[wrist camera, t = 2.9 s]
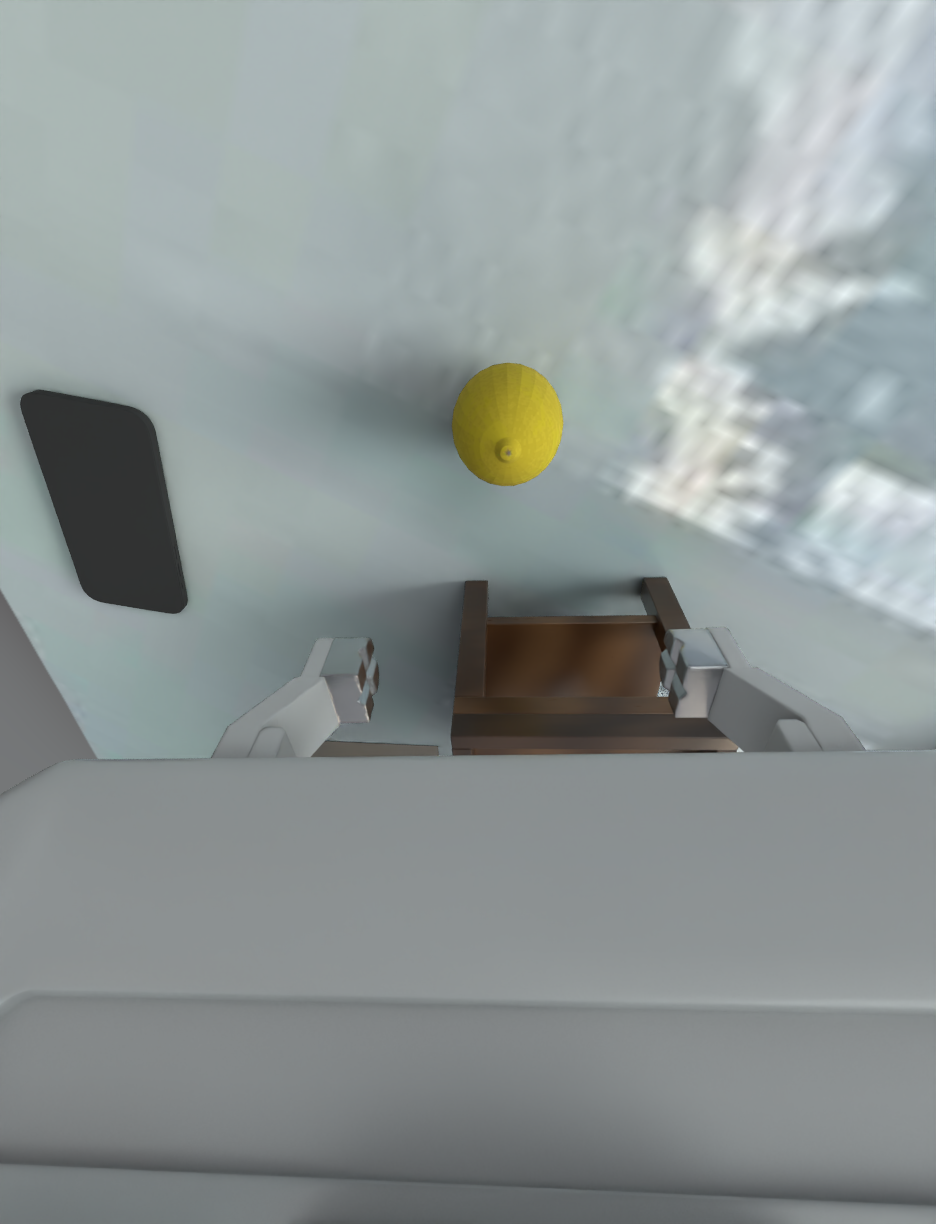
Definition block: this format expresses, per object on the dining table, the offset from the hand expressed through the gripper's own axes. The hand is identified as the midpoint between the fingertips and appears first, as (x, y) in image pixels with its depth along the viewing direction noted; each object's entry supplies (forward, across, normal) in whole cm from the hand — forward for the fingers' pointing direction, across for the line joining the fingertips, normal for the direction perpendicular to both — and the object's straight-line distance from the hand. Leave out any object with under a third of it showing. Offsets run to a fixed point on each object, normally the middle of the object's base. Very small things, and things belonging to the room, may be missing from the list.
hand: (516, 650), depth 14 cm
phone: (+20, +26, +4) cm, 33 cm away
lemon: (+20, 0, -2) cm, 20 cm away
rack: (+19, -4, +18) cm, 26 cm away
